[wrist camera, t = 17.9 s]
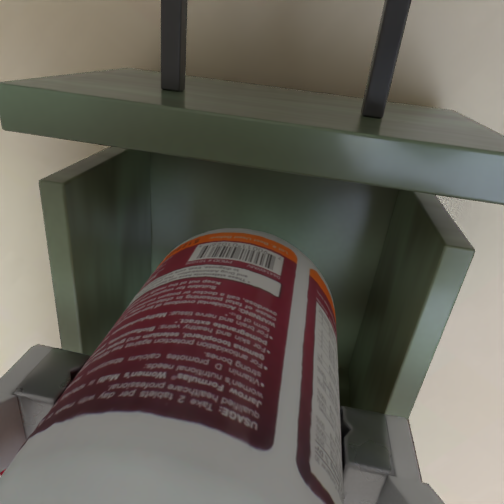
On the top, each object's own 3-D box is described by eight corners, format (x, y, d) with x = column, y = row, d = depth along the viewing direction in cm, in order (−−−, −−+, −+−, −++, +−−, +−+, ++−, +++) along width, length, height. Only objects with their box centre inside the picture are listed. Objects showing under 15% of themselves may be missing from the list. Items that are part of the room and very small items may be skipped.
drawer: (120, -108, 15) (-64, -244, 8) (513, -73, 13) (713, -199, 6) (134, 325, 23) (54, 442, 17) (372, 371, 22) (392, 517, 15)
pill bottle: (123, 296, 15) (-316, 837, 5) (239, 180, 12) (-190, 840, 2) (247, 400, 16) (112, 999, 6) (377, 315, 13) (527, 1131, 3)
